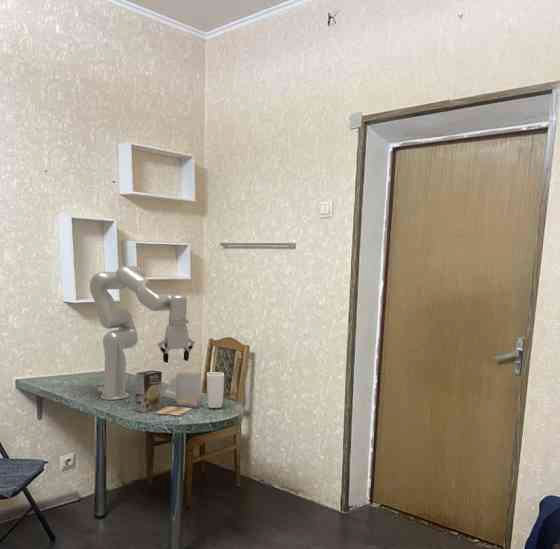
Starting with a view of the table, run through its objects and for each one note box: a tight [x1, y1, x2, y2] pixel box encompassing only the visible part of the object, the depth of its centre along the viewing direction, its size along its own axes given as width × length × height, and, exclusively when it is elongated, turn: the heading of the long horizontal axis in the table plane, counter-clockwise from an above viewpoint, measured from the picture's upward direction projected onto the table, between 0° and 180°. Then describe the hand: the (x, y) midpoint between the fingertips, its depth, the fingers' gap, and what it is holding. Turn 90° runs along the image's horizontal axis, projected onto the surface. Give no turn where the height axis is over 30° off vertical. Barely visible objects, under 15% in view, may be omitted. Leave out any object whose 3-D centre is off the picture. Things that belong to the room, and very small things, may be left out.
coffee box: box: [134, 370, 163, 413], centre depth 209 cm, size 9×6×16 cm
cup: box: [206, 371, 225, 409], centre depth 214 cm, size 7×7×15 cm
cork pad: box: [153, 405, 192, 417], centre depth 206 cm, size 12×11×1 cm
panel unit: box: [172, 371, 204, 410], centre depth 215 cm, size 12×6×14 cm, turn 75°
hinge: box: [163, 377, 176, 401], centre depth 232 cm, size 17×5×10 cm, turn 42°
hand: (176, 361), depth 216 cm, fingers open, 9 cm apart
